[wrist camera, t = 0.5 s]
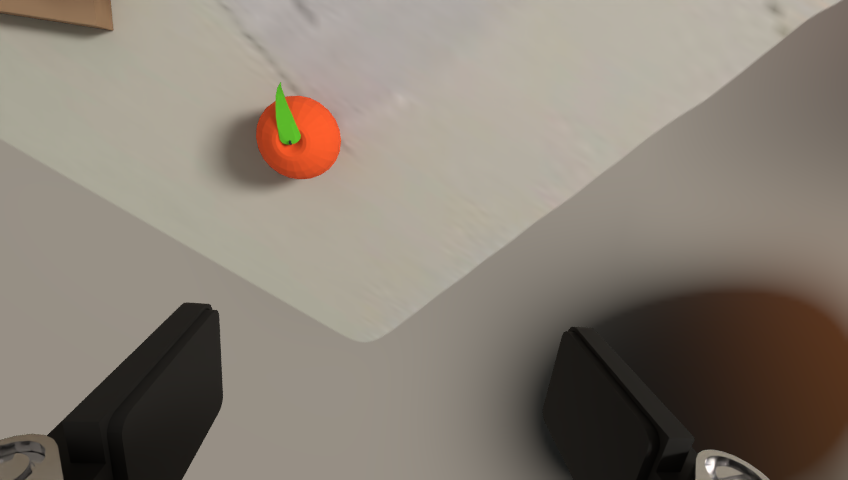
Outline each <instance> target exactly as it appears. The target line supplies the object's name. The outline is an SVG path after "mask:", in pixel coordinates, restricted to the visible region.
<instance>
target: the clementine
mask: <svg viewBox="0 0 848 480" xmlns="http://www.w3.org/2000/svg"><path fill="white" fill-rule="evenodd" d="M256 139H257V144H258V148H259V151H260V153H261V155H262V157H263V158H264V160H265V161H266V162H267V163H268V165H269V166H270V167H271V168H273V169H274V170H275V171H277V172H278V173H280V174H282V175H284V176H287V177H289V178H295V179H308V178H313V177H316V176H319V175H321V174H323V173H324V172H325V171H327V170H328V169H330V167H331V166H332V165H333V164H334V162H335V161H336V159H337V156H338V154H339V152H340V144H341V138H340V130H339V128H338V125H337V123H336V120H335V119H334V117H333V116H332V115H331V113H330V112H329V110H327V109H326V108H325V107H324V106H323V105H322V104H320V103H319V102H317V101H315V100H313V99H311V98H307V97H302V96H287V97H285V96H284V94H283V91H282V88H281V82H280V84H279V86H278V88H277V92H276V101H275V102H274V103H272V104H271V105H270V106H268V107H267V108H266V109H265V111H264V112H263V113H262V115H261V116H260V119H259V121H258V124H257V131H256Z"/></svg>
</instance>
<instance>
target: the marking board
mask: <svg viewBox="0 0 848 480" xmlns="http://www.w3.org/2000/svg"><path fill="white" fill-rule="evenodd" d="M0 13H4V14H10V15H16V16H23V17H29V18H36V19H42V20H49V21H55V22H62V23H68V24H75V25H81V26H87V27H94V28H100V29H107V30H113V22H112V11H111V1H110V0H0Z"/></svg>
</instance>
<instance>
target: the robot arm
mask: <svg viewBox="0 0 848 480" xmlns="http://www.w3.org/2000/svg"><path fill="white" fill-rule="evenodd" d="M222 389H223V388H222V367H221V347H220V325H219V313H218V311H217V310H212V307H211V305H210V304H201V303H183V304H182V305H181V306H180V307H179V308H178V309H177V310H176V311H175V312H174V313H173V314H172V315H171V316H170V317H169V318H168V319H167V320H166V321H164V322H163V323H162V324H161V325H160V326H159V327H158V328H157V329H156V330H155V331H154V332H153V333H152V334H151V335H150V336H149V337H148V338H147V339H146V340H145V341H144V342H143V343H142V344H141V345H140V346H139V347H138V348H137V349H136V350H135V351H134V352H133V353H132V354H131V355H129V356H128V358H127V359H125V360H124V361H123V362H122V363H121V364H120V365H119V366H118V367H117V368H116V369H115V370H114V371H113V372H112V373H111V374H110V375H109V376H108V377H107V378H106V379H105V380H104V381H103V382H102V383H101V384H100V385H99V386H98V387H97V388H95V389H94V390H93V391H92V392H91V393H90V394H89V395H88V396H87V397H86V398H85V399H84V400H83V401H82V402H81V403H80V404H79V405H78V406H77V407H76V408H75V409H74V410H73V411H72V412H71V413H70V414H69V415H68V416H67V417H66V418H65V419H64V420H63V421H61V422H60V423H59V425H57V426H56V427H55V428H54V429H53V430H52V431H51V432H50V433H49V434H48V435H47V436H46V435H39V434H26V435H18V436H13V437H9V438H5V439H2V440H0V480H182V478H183V477H184V475H185V473H186V471H187V469H188V468H189V466H190V464H191V462H192V460H193V458H194V456H195V455H196V453H197V451H198V449H199V448H200V446H201V444H202V442H203V440H204V438H205V437H206V435H207V433H208V431H209V429H210V427H211V426H212V424H213V422H214V420H215V418H216V416H217V415H218V413H219V411H220V408H221V405H222V400H223V390H222ZM543 417H544V421H545V423H546V425H547V427H548V429H549V431H550V433H551V435H552V437H553V439H554V441H555V443H556V445H557V447H558V449H559V451H560V453H561V455H562V457H563V459H564V461H565V463H566V465H567V468H568V469H569V472H570V473H571V475H572V478H573V480H769V479H768V478H767V477H766V476H765V475H764V474H762V473H761V472H760V471H759V470H757V469H756V468H754V467H753V466H751V465H750V464H749V463H746V462H745V461H743V460H741V459H739V458H737V457H735V456H733V455H730V454H728V453H725V452H721V451H716V450H703V451H702V452H700V453H698V454H697V453H696V451H695V450H694V449H693V448H692V447H691V446H692V443H693V442H694V439H695V438H694V437H693V436H692V435H691V434H690V433H689V431H688V430H687V429H686V428H685V427H684V426H683V425H682V424H681V423H680V422H679V421H678V419H677V418H676V417H675V416H674V415H673V414H672V413H671V412H670V411H669V410H668V409H667V408H666V406H664V404H662V402H661V401H660V400H659V399H658V398H657V397H656V396H655V395H654V393H653V392H652V391H651V390H650V389H649V388H648V387H647V386H646V385H645V384H644V383H643V382H642V381H641V379H640V378H639V377H638V376H637V375H636V374H635V373H634V372H633V371H632V370H631V369H630V367H629V366H628V365H627V364H626V363H625V362H624V361H623V360H622V359H621V358H620V357H619V356H618V355H617V353H616V352H615V351H614V350H613V349H612V348H611V347H610V346H609V345H608V344H607V343H606V342H605V340H604V339H603V338H602V337H601V336H600V335H599V334H598V333H597V332H596V331H595V330H594V329H593V328H585V327H571V328H570V329H569V330H568V332H567V331H566V332H564V333H563V335H562V339H561V342H560V346H559V350H558V354H557V358H556V361H555V365H554V369H553V372H552V376H551V380H550V384H549V388H548V392H547V395H546V399H545V403H544V407H543Z"/></svg>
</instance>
